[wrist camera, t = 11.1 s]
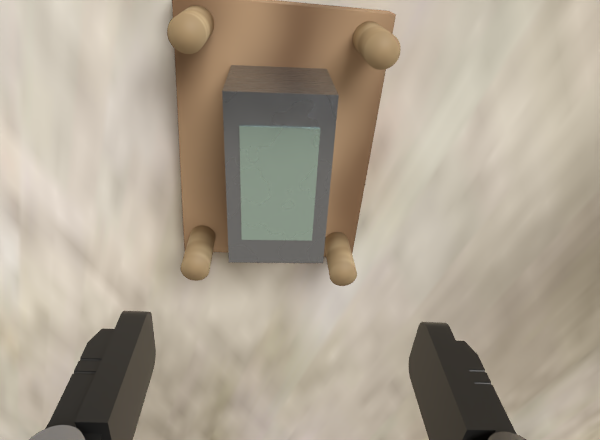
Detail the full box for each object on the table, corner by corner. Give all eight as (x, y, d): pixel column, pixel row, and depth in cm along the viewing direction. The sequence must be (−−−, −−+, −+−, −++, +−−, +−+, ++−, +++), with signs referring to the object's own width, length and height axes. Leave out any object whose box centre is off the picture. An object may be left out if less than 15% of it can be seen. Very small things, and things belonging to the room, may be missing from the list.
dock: (389, 11, 24) (414, 24, 20) (348, 245, 32) (360, 291, 27) (177, -9, 23) (155, 1, 19) (188, 237, 31) (174, 285, 26)
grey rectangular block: (326, 68, 24) (338, 95, 19) (315, 215, 28) (323, 264, 24) (231, 64, 23) (221, 91, 19) (235, 214, 28) (228, 263, 24)
